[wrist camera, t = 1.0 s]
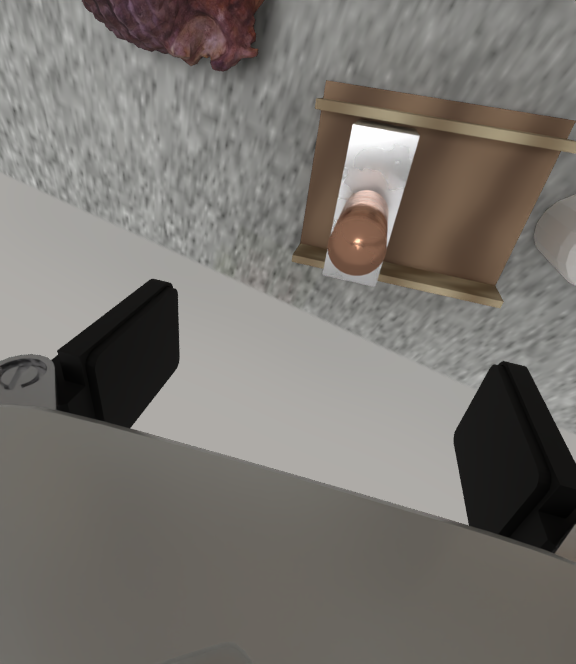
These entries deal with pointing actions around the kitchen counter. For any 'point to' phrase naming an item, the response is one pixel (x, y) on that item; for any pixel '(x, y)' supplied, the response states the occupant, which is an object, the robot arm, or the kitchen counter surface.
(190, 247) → the kitchen counter surface
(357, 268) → the ram
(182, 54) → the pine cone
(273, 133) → the kitchen counter surface
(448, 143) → the base
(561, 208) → the capsule
